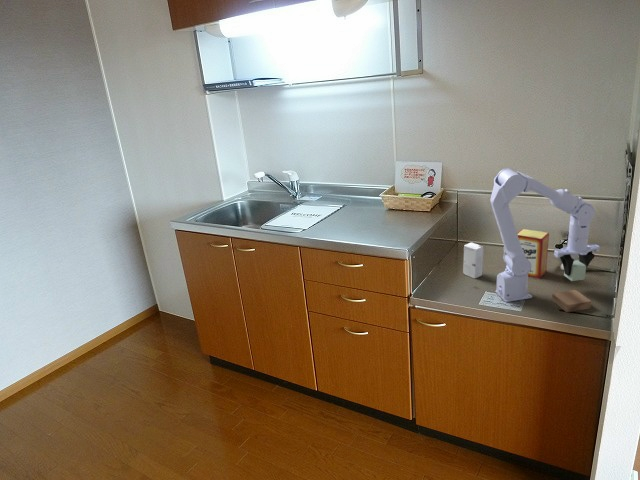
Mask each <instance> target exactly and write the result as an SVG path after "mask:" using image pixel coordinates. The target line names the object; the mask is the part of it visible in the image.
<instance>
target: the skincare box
mask: <svg viewBox="0 0 640 480" xmlns="http://www.w3.org/2000/svg"><path fill="white" fill-rule="evenodd" d="M483 261H484V246H483V245H480V244H477V243H474V242H469V243H466V244H464V246H463V266H462V270H463V271H462V274H464V275H465V276H468V277H470V278H472V279H477V278H479V277H481V276H482V275H483V265H484V262H483Z"/></svg>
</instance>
